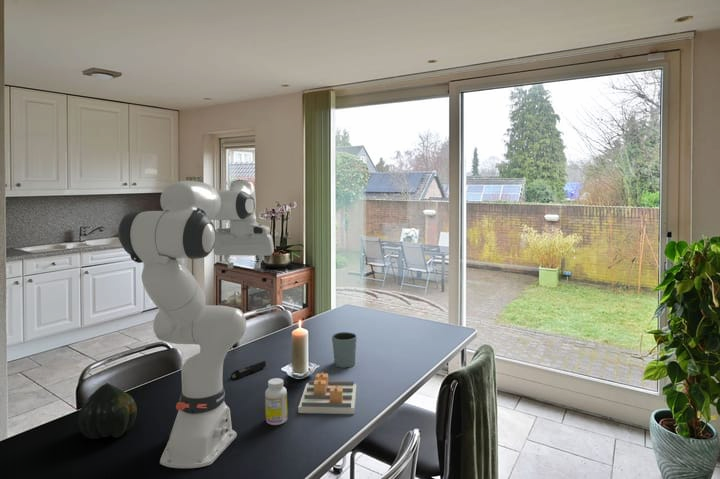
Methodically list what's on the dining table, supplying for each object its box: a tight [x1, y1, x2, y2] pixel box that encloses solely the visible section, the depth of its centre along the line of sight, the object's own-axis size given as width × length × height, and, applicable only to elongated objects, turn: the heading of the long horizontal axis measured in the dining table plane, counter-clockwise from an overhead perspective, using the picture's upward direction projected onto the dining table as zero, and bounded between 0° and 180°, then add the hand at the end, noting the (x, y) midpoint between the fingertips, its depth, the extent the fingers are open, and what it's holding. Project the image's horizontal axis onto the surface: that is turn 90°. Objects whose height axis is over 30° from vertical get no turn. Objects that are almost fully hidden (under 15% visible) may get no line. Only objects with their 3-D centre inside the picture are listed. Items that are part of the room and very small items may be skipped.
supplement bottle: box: [264, 377, 288, 426], centre depth 141 cm, size 7×7×13 cm
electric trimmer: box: [230, 360, 267, 381], centre depth 178 cm, size 4×16×3 cm, turn 141°
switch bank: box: [297, 380, 357, 415], centre depth 155 cm, size 18×18×3 cm
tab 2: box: [313, 379, 327, 395], centre depth 154 cm, size 3×4×5 cm
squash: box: [77, 382, 138, 440], centre depth 134 cm, size 14×15×15 cm
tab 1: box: [315, 371, 329, 388], centre depth 160 cm, size 3×4×5 cm
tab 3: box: [330, 386, 343, 403], centre depth 149 cm, size 3×4×5 cm
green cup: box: [331, 331, 357, 369], centre depth 187 cm, size 10×10×12 cm
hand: (244, 268), depth 156 cm, fingers open, 8 cm apart
